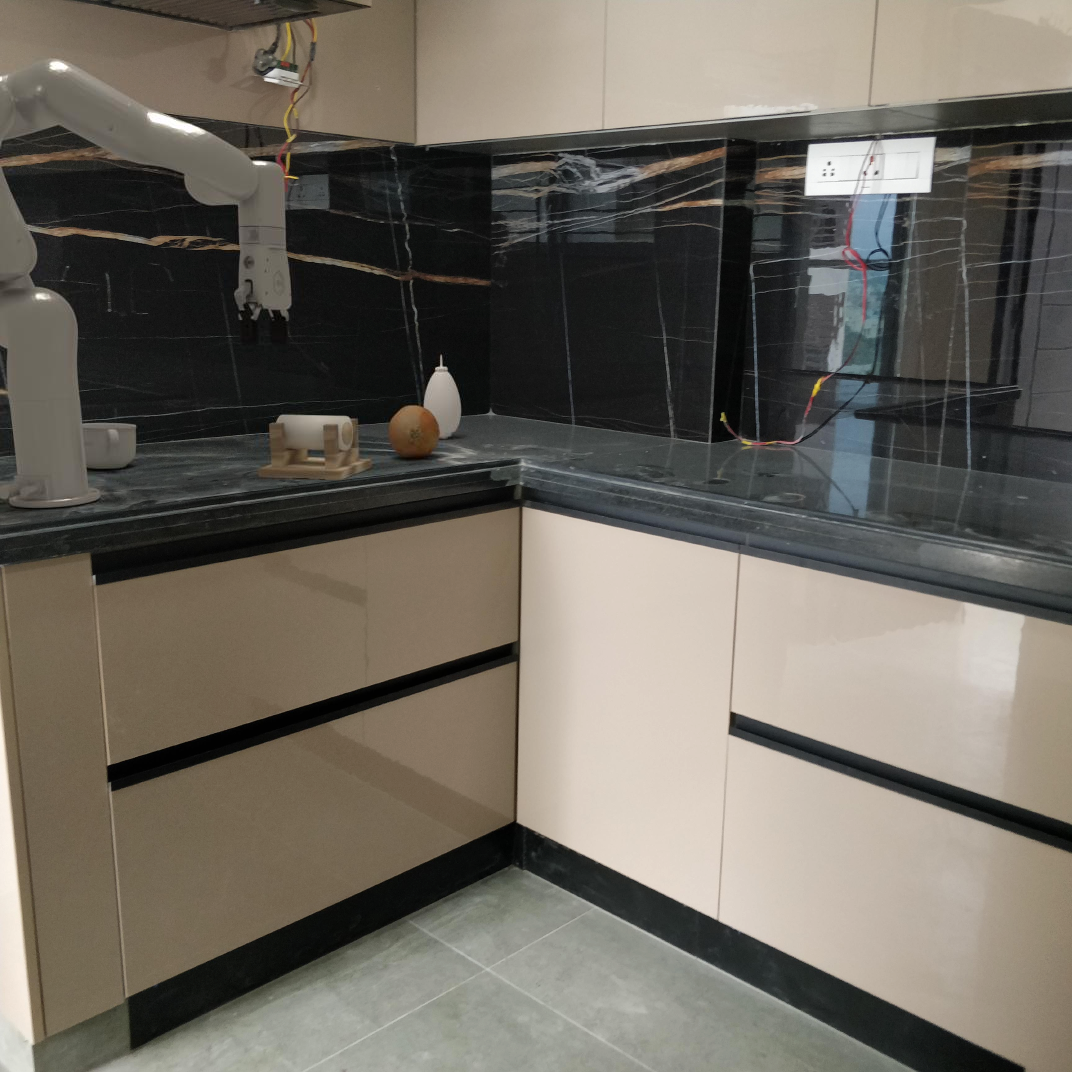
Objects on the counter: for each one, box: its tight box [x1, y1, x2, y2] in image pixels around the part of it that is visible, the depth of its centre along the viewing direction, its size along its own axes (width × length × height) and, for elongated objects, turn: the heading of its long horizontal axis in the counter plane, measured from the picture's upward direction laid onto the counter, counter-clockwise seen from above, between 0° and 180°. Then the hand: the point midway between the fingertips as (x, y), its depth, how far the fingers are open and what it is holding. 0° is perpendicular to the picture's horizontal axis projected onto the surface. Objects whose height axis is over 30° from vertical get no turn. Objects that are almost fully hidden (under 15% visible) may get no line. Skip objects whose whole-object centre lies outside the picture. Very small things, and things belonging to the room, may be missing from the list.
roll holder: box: [257, 418, 372, 481], centre depth 187 cm, size 14×15×9 cm
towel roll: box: [275, 414, 353, 451], centre depth 186 cm, size 6×12×6 cm, turn 76°
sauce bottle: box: [423, 354, 462, 440], centre depth 230 cm, size 8×8×18 cm
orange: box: [387, 405, 440, 459], centre depth 203 cm, size 10×10×10 cm
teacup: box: [82, 422, 137, 470], centre depth 192 cm, size 14×11×8 cm
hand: (265, 344), depth 181 cm, fingers open, 9 cm apart
